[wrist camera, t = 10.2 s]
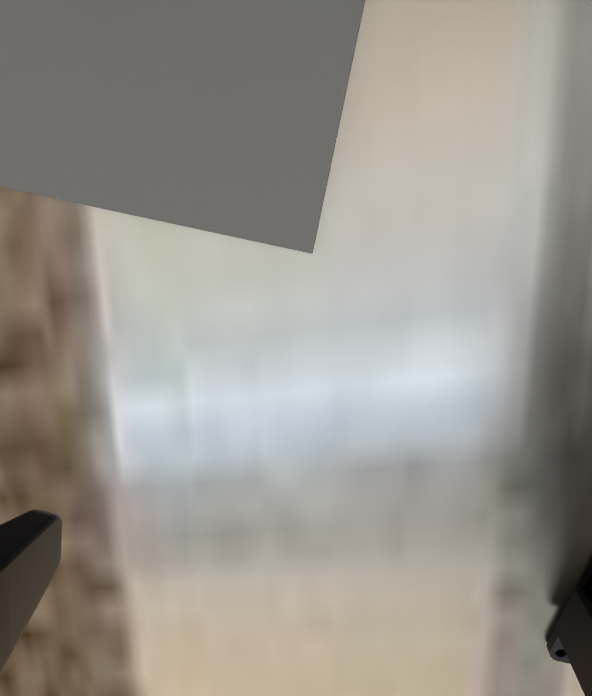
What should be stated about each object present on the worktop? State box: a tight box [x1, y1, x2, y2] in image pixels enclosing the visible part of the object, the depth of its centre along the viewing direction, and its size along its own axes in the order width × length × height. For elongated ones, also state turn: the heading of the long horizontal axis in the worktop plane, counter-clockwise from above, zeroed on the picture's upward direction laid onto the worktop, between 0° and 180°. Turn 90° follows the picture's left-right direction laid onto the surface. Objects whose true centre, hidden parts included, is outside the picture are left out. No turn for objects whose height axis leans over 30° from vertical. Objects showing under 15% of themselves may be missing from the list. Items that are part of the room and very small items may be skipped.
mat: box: [0, 0, 365, 253], centre depth 17 cm, size 13×10×1 cm
